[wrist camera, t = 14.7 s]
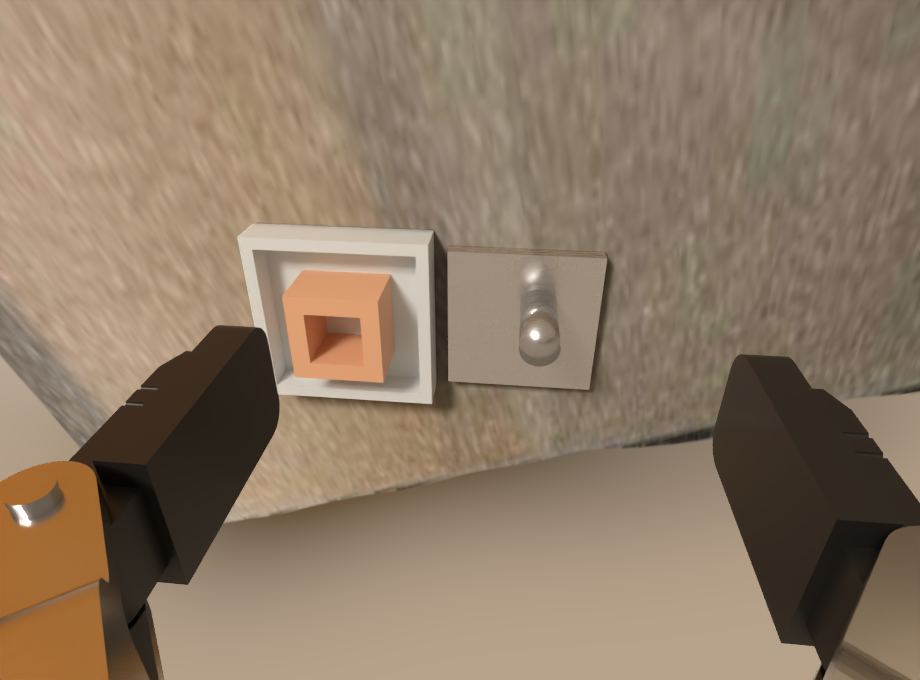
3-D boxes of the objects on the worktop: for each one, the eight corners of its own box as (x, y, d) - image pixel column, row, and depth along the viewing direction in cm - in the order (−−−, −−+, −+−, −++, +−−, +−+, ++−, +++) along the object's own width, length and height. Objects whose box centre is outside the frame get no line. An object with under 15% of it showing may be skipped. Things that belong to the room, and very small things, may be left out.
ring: (390, 274, 40) (377, 301, 37) (395, 350, 43) (383, 382, 40) (302, 269, 41) (282, 296, 37) (313, 345, 44) (295, 377, 40)
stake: (605, 252, 39) (618, 298, 33) (587, 381, 44) (596, 440, 38) (449, 245, 39) (435, 289, 34) (449, 373, 45) (438, 430, 39)
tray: (433, 230, 39) (428, 245, 37) (436, 383, 45) (431, 404, 43) (252, 223, 40) (237, 236, 38) (280, 374, 46) (267, 393, 44)
